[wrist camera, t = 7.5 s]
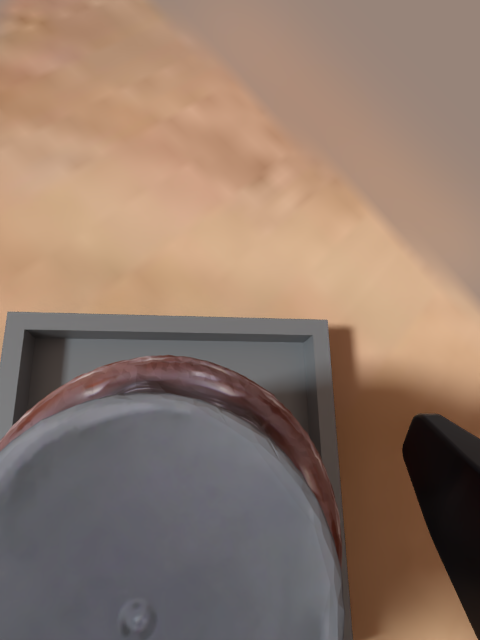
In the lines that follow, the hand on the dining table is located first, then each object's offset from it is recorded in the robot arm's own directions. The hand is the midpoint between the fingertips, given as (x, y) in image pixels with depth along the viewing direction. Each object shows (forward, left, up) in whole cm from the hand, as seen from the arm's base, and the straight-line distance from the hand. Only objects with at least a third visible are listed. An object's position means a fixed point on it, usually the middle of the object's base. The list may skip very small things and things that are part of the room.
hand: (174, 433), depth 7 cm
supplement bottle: (-1, +1, -8) cm, 8 cm away
